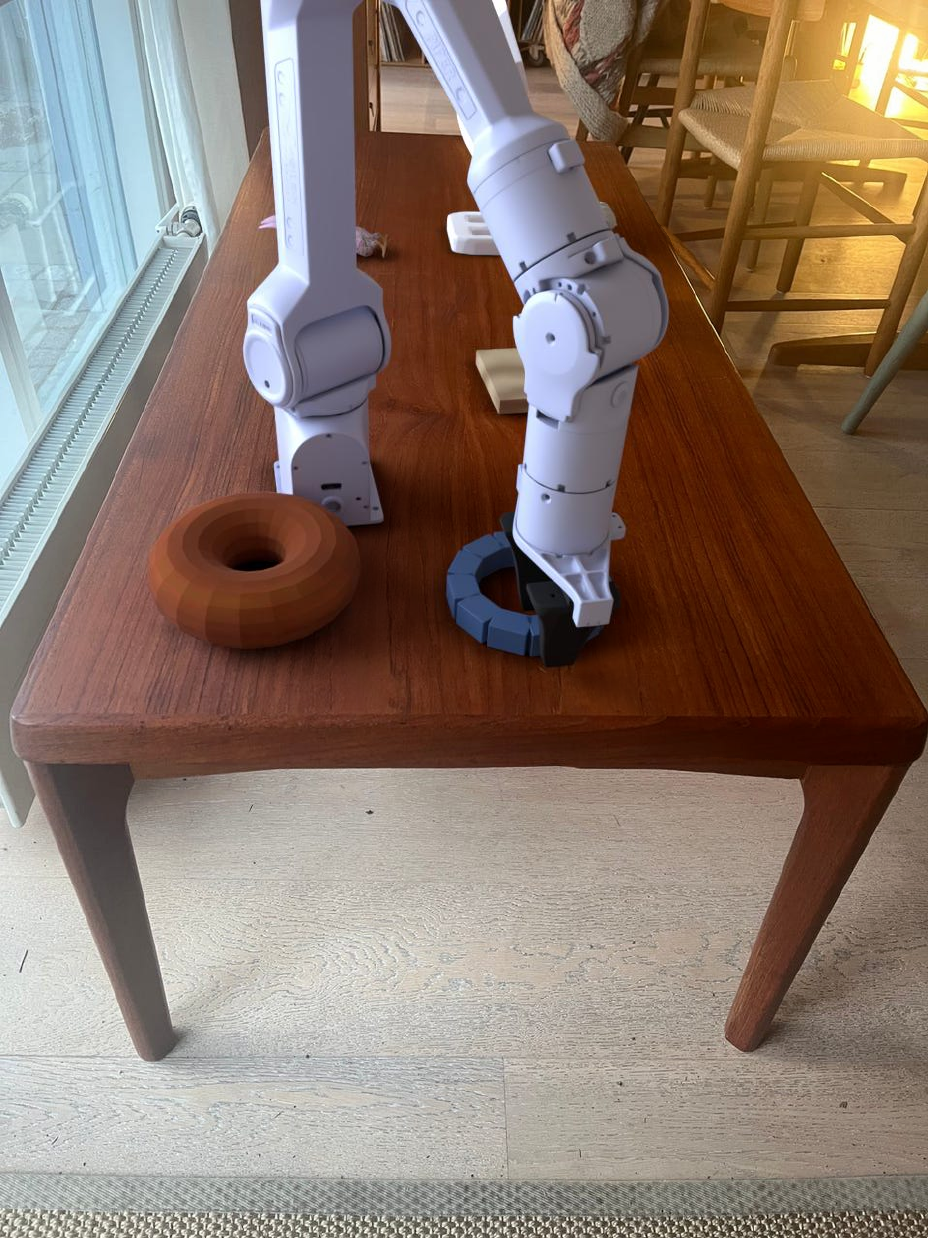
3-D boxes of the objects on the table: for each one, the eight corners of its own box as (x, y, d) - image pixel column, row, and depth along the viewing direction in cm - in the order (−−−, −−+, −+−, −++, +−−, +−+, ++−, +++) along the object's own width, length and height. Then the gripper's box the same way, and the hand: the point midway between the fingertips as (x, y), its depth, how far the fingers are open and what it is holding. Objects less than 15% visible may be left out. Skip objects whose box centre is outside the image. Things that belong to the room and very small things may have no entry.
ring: (629, 645, 68) (634, 624, 67) (466, 664, 66) (467, 642, 65) (580, 544, 76) (583, 523, 75) (434, 557, 74) (435, 536, 73)
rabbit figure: (384, 254, 121) (262, 229, 119) (392, 206, 117) (266, 179, 115) (382, 274, 116) (255, 249, 114) (390, 225, 112) (258, 197, 110)
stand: (600, 407, 92) (613, 328, 87) (498, 414, 91) (505, 333, 85) (570, 358, 100) (580, 282, 94) (475, 363, 98) (480, 286, 93)
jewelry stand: (581, 262, 118) (612, 26, 102) (454, 262, 117) (464, 22, 100) (547, 191, 137) (568, -18, 120) (436, 190, 135) (442, -23, 118)
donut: (390, 555, 74) (390, 500, 71) (313, 687, 64) (309, 631, 60) (213, 514, 77) (205, 460, 74) (111, 635, 66) (95, 578, 63)
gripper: (678, 533, 53) (637, 703, 63) (597, 401, 64) (572, 563, 73) (554, 545, 52) (530, 716, 61) (493, 408, 63) (480, 572, 72)
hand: (546, 634), depth 67 cm, fingers open, 5 cm apart
